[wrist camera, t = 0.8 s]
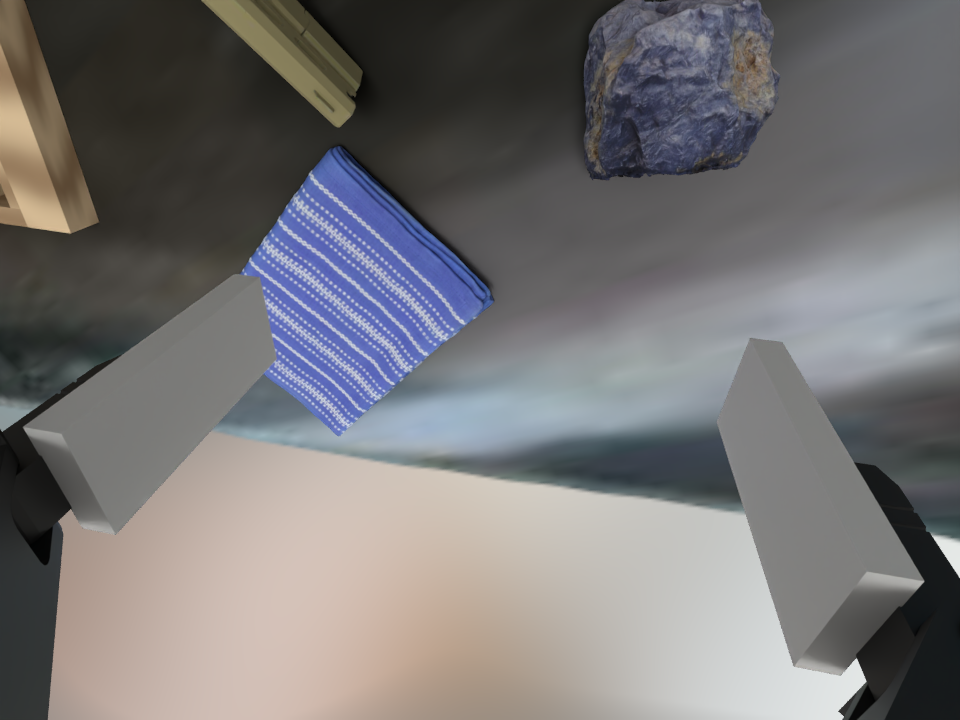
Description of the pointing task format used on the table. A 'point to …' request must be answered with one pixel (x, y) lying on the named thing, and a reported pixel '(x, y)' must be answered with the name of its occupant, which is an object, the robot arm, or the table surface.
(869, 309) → the table surface
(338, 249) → the dish towel
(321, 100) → the handgun
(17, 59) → the board
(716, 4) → the rock
